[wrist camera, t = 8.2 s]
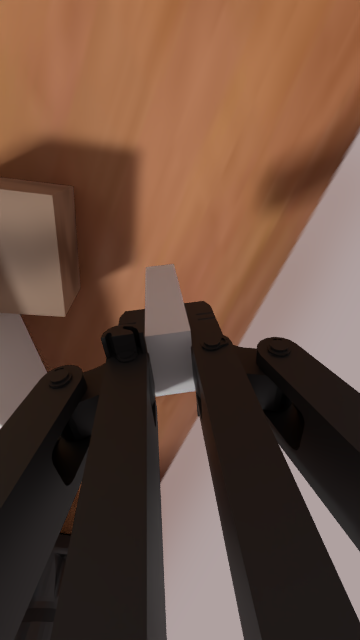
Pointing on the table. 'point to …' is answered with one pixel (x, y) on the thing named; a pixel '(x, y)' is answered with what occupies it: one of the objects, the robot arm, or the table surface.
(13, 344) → the grey board
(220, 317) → the table surface
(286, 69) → the table surface
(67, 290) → the walnut block
